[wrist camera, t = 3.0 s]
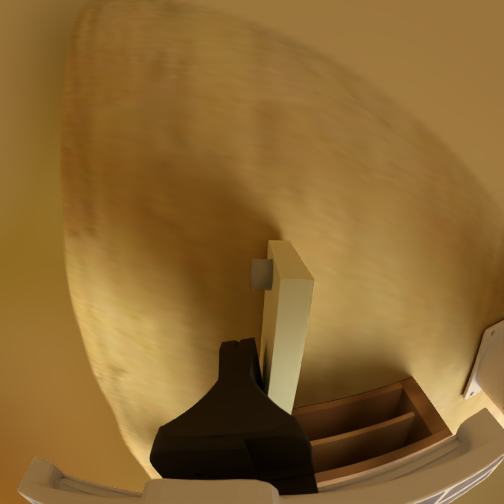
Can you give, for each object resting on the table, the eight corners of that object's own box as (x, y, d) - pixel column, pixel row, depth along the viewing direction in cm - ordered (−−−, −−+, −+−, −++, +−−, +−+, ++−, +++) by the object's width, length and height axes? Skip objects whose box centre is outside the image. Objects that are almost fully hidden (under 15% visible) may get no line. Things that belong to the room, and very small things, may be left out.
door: (251, 237, 13) (252, 278, 8) (288, 239, 13) (315, 280, 8) (242, 409, 16) (241, 477, 11) (270, 409, 16) (275, 477, 11)
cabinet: (412, 377, 16) (452, 434, 10) (390, 452, 19) (409, 498, 13) (264, 413, 16) (269, 489, 10) (279, 479, 19) (284, 531, 13)
